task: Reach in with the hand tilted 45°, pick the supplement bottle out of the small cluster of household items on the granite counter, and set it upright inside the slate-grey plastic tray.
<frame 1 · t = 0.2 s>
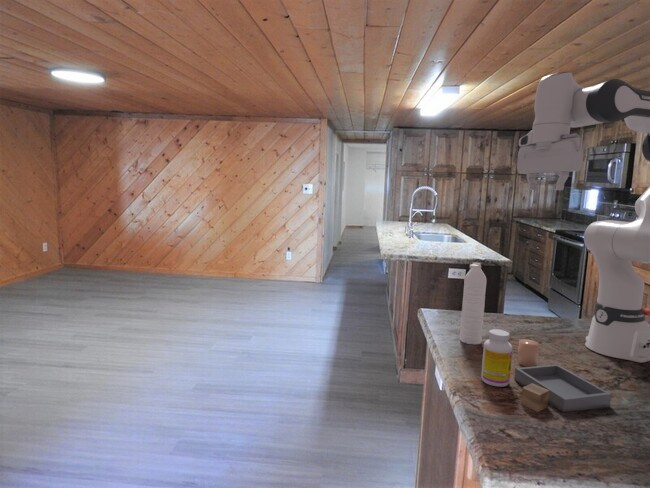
hand: (545, 190, 115), 48 cm above the countertop, tool pointing down, fingers open, 8 cm apart
supplement bottle: (494, 382, 108), on the countertop
tray: (559, 392, 104), on the countertop
walnut block: (534, 405, 97), on the countertop
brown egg: (526, 363, 120), on the countertop
water bottle: (469, 342, 134), on the countertop
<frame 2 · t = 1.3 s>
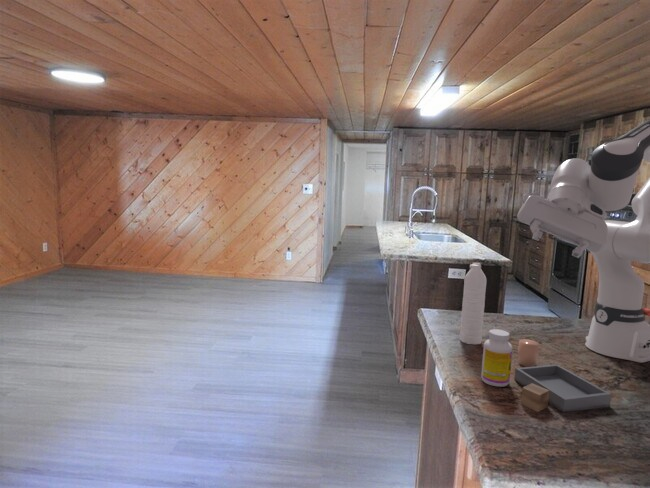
hand: (556, 246, 100), 35 cm above the countertop, tool tilted 50°, fingers open, 8 cm apart
nothing on the countertop moved.
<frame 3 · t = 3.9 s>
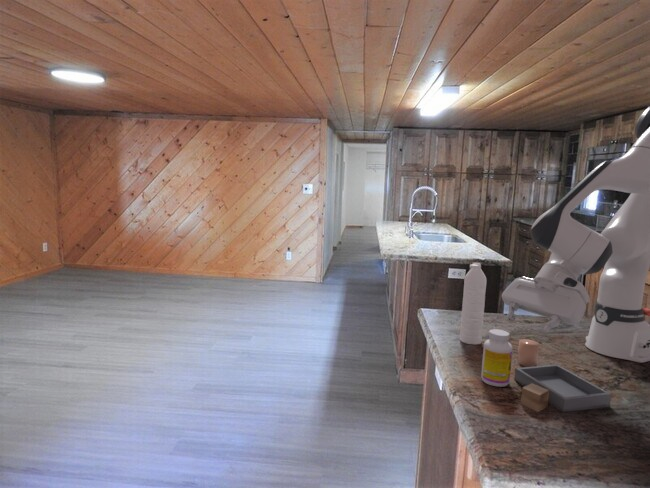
hand: (525, 325, 109), 14 cm above the countertop, tool tilted 45°, fingers open, 8 cm apart
nothing on the countertop moved.
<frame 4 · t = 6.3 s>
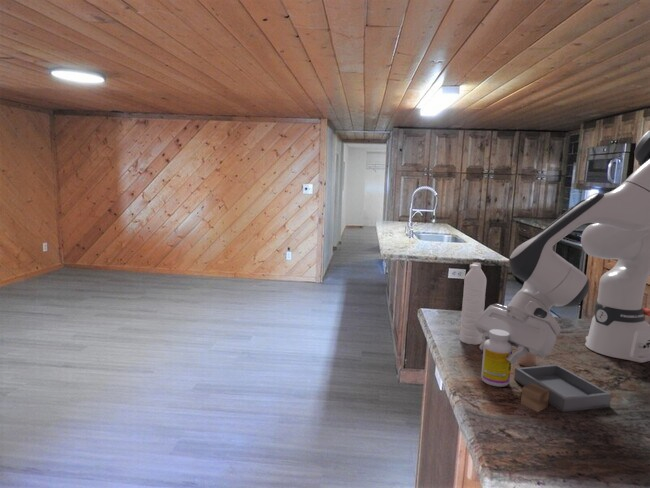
hand: (495, 355, 107), 7 cm above the countertop, tool tilted 45°, fingers closed on supplement bottle, 7 cm apart
supplement bottle: (494, 382, 108), on the countertop, touching gripper
everything else where it was.
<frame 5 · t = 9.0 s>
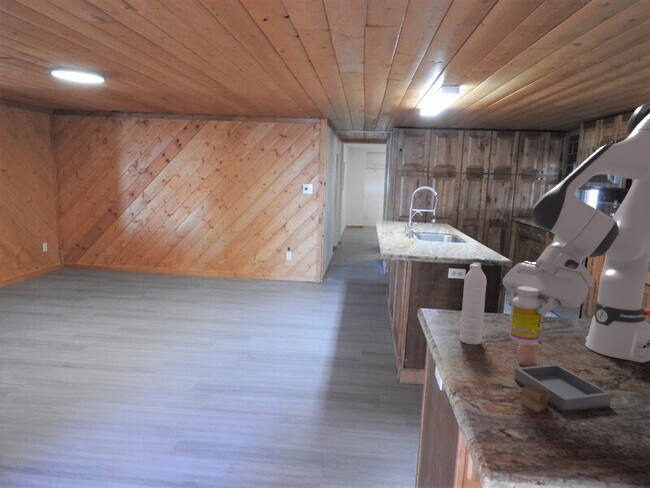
hand: (524, 309, 105), 19 cm above the countertop, tool tilted 45°, fingers closed on supplement bottle, 7 cm apart
supplement bottle: (523, 340, 106), point 11 cm above the countertop, touching gripper
everything else where it was.
when the fingers open (9 cm above the countertop, at t = 12.0 s): supplement bottle stays where it is, resting on tray.
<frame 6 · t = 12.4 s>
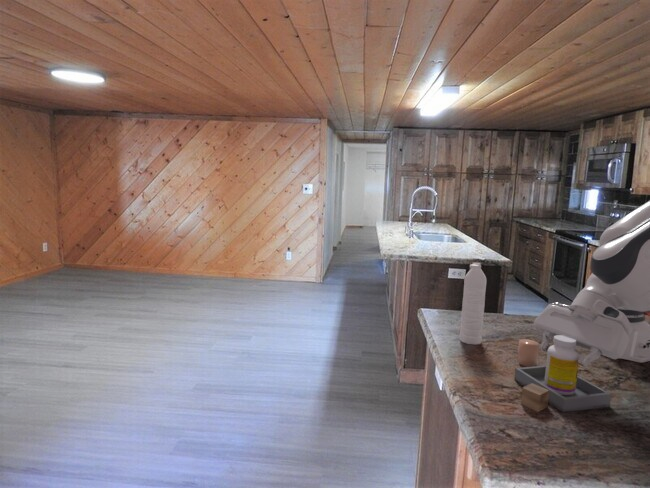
hand: (561, 357, 102), 9 cm above the countertop, tool tilted 45°, fingers open, 8 cm apart
supplement bottle: (559, 390, 103), resting on tray
everything else where it was.
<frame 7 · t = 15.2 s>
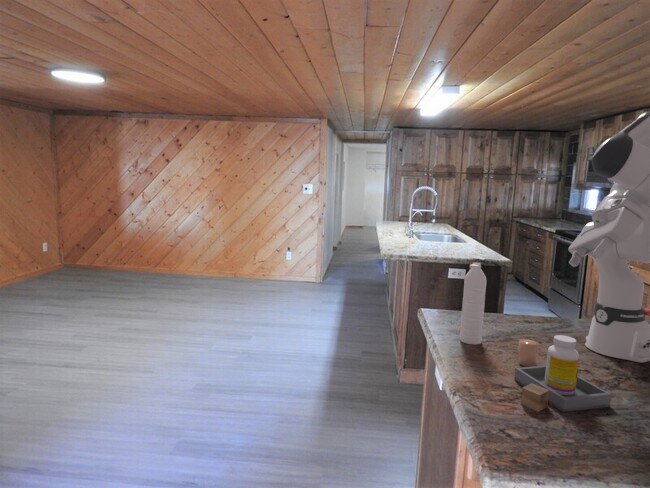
hand: (583, 260, 102), 32 cm above the countertop, tool tilted 45°, fingers open, 8 cm apart
nothing on the countertop moved.
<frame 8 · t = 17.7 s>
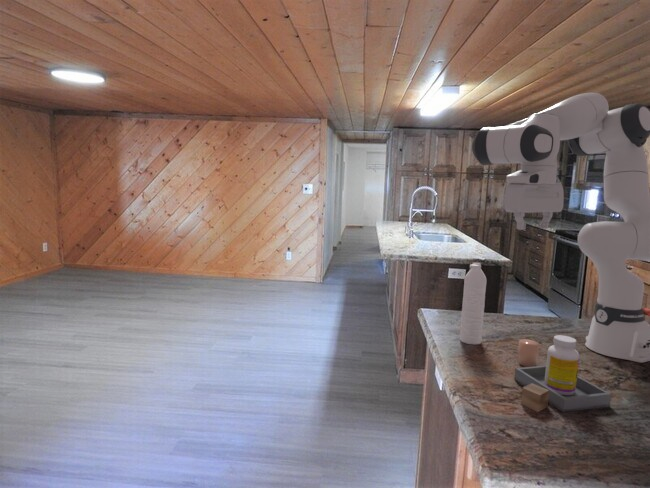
hand: (532, 229, 117), 37 cm above the countertop, tool pointing down, fingers open, 8 cm apart
nothing on the countertop moved.
at the end: supplement bottle inside the target area on the tray (0.1 cm from its centre), point 0.4 cm above the tray's base; supplement bottle tilted 0°; the gripper is holding nothing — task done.
